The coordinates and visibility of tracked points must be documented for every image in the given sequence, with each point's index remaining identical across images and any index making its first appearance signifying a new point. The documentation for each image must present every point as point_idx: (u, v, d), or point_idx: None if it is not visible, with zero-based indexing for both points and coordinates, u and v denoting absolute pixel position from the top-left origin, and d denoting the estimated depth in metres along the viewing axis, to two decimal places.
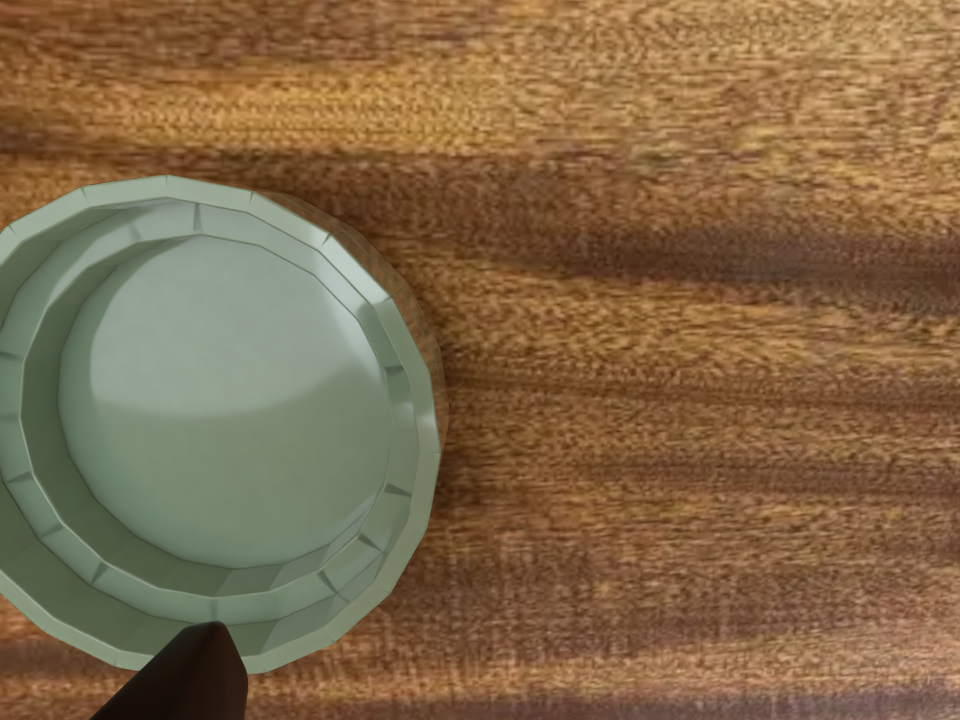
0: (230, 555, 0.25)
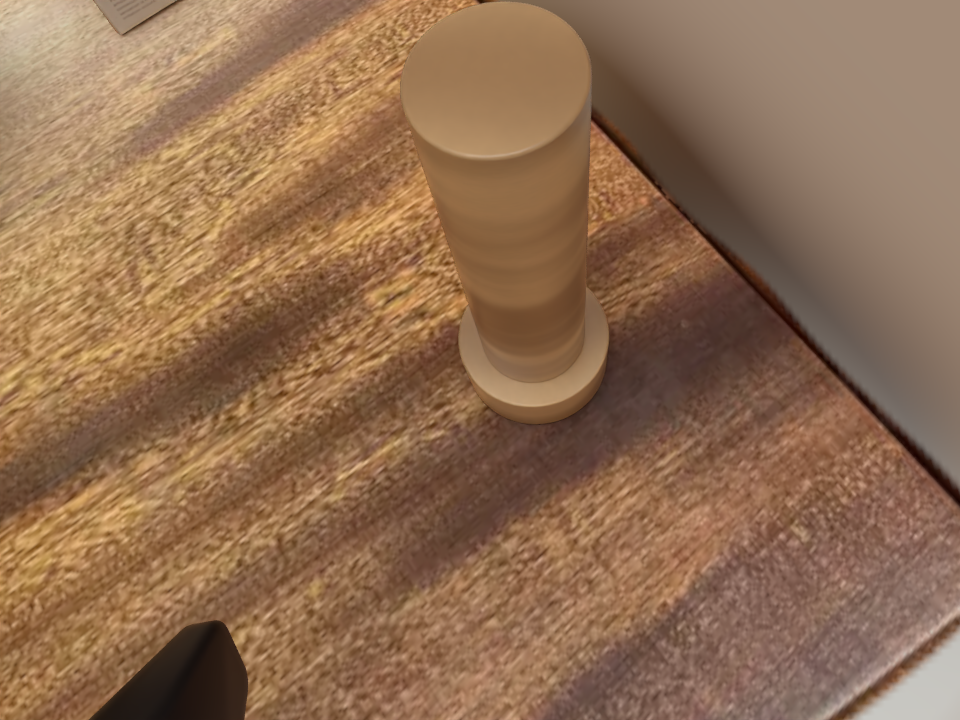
0: None
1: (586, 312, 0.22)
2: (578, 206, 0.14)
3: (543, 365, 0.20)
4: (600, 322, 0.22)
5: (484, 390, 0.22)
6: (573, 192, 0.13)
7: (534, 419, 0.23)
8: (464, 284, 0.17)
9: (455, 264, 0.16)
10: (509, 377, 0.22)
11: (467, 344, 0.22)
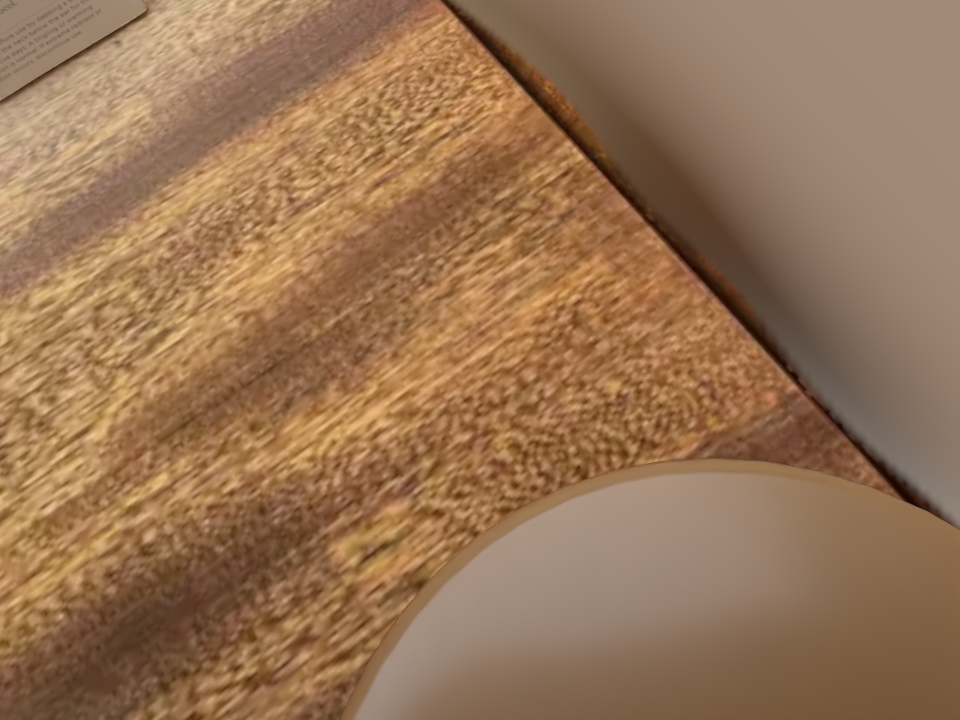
0: None
1: None
2: None
3: None
4: None
5: None
6: None
7: None
8: None
9: None
10: None
11: None
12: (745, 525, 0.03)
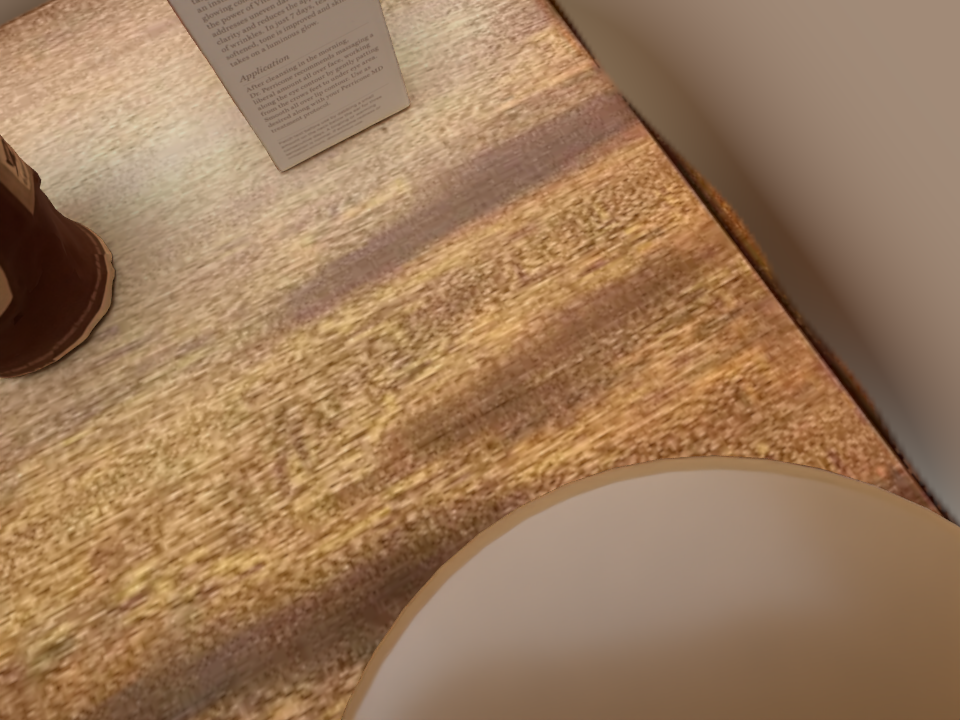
0: None
1: None
2: None
3: None
4: None
5: None
6: None
7: None
8: None
9: None
10: None
11: None
12: (746, 522, 0.03)
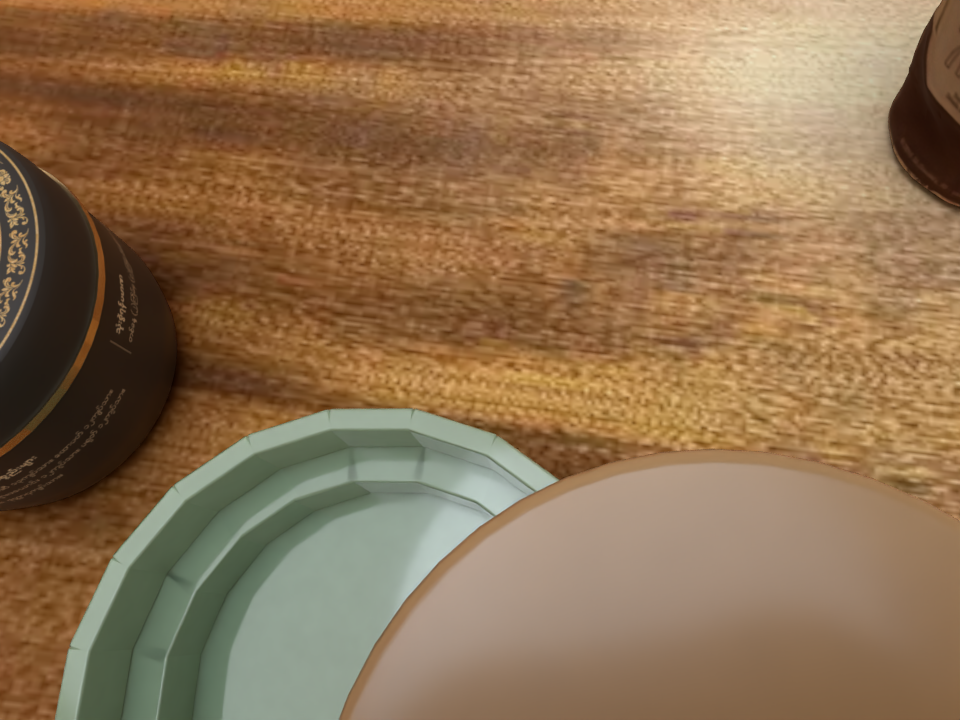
0: None
1: None
2: None
3: None
4: None
5: None
6: None
7: None
8: None
9: None
10: None
11: None
12: (745, 515, 0.03)
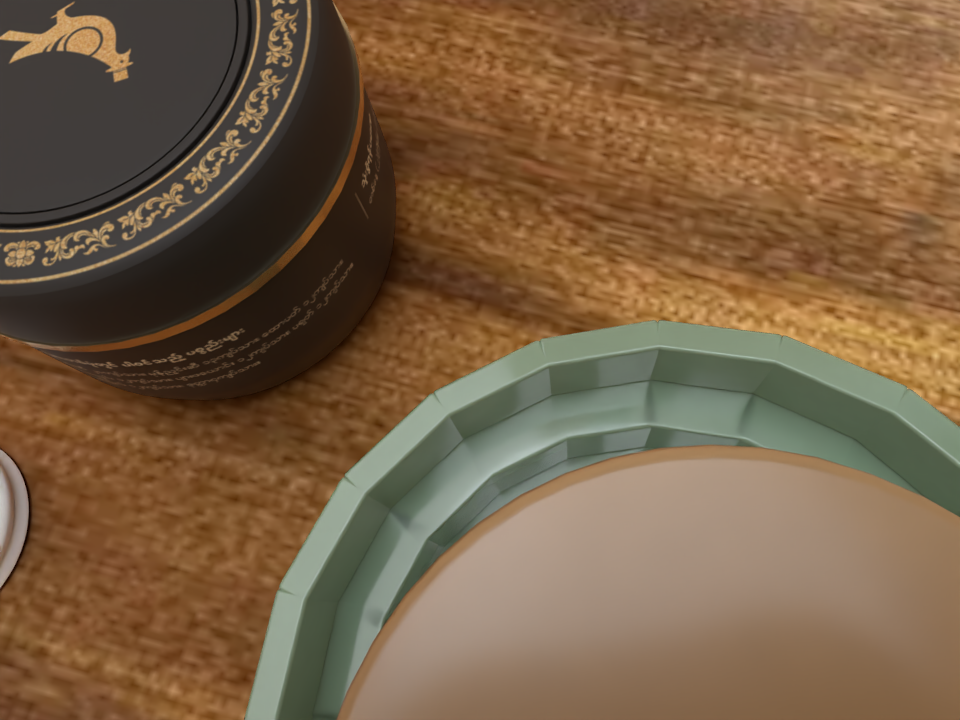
0: None
1: None
2: None
3: None
4: None
5: None
6: None
7: None
8: None
9: None
10: None
11: None
12: (744, 510, 0.03)
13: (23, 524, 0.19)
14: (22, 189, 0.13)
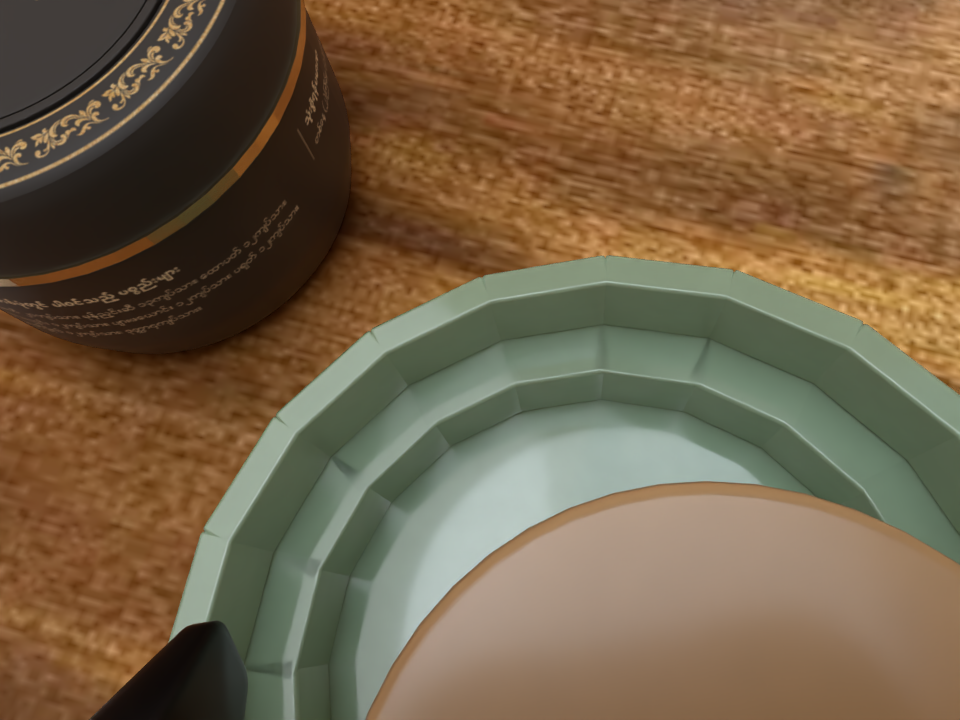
0: None
1: None
2: None
3: None
4: None
5: None
6: None
7: None
8: None
9: None
10: None
11: None
12: (737, 544, 0.03)
13: None
14: None
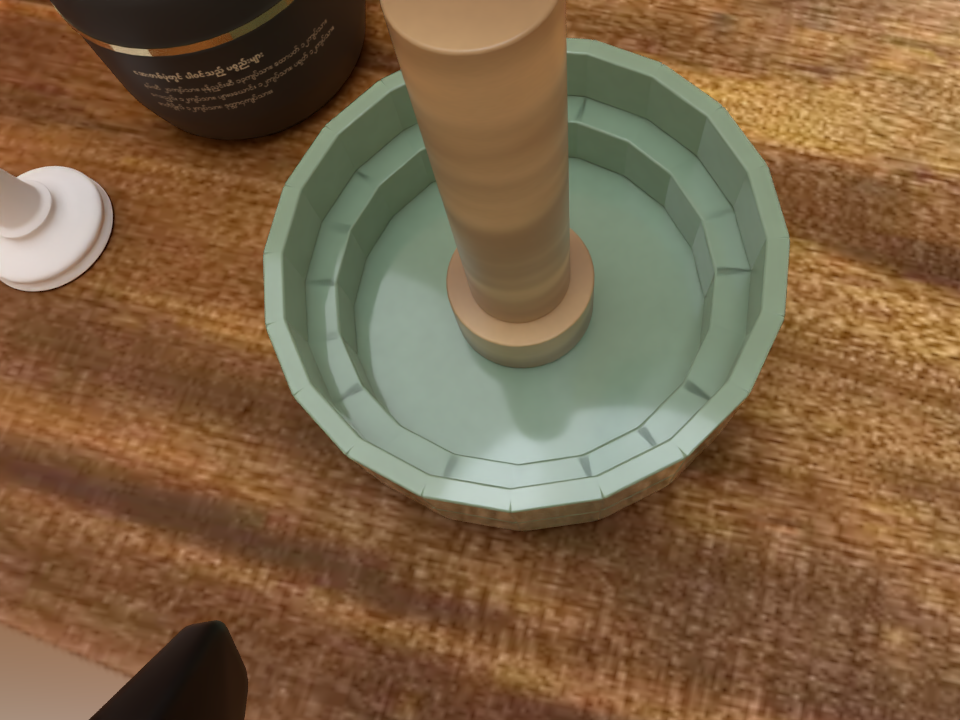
0: (466, 450, 0.23)
1: (572, 255, 0.22)
2: (556, 118, 0.14)
3: (528, 302, 0.21)
4: (586, 264, 0.22)
5: (471, 331, 0.22)
6: (550, 100, 0.13)
7: (521, 362, 0.23)
8: (448, 211, 0.17)
9: (439, 189, 0.17)
10: (496, 317, 0.22)
11: (455, 286, 0.22)
12: None
13: (110, 221, 0.28)
14: None
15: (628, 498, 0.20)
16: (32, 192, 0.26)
